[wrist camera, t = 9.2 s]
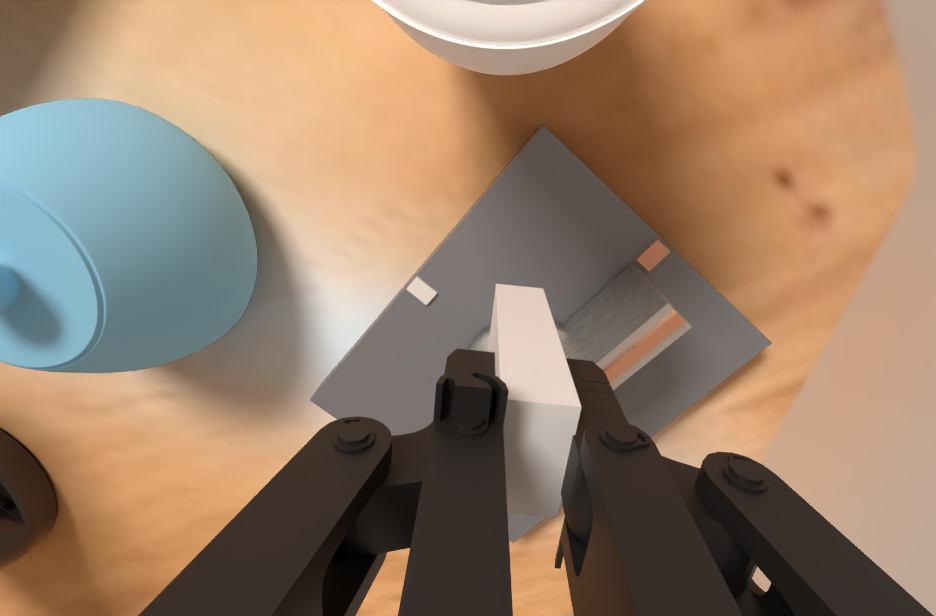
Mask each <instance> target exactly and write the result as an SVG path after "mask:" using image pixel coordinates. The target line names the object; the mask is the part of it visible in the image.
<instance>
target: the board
mask: <svg viewBox="0 0 936 616" xmlns="http://www.w3.org/2000/svg"><path fill="white" fill-rule="evenodd" d="M631 263H632V264H633V265H634V266H636V267H637V268H638V269H639V270H640V271H641V272H642V273H643V274H644V275H645V276H646V277H647V278H648V279H649V280H650V281H651V282H652V283H653V284H654V285H655V287H656V288H657V289H658V290H659V291H660V292H661V293H662V294H663V295H664V296H665V298H666V299H667V300H668V301H669V302H670V303H671V304H672V305H673V306H674V307H675V309H676V310H677V311H678V312H679V313H680V314H681V315H682V316H683V317H684V318H685V320H686V321H687V322H688V323H689V324H690V325H691V326H692V328H690V329H689V330H688V331H687V332H685V333H684V334H683V335H682V336H680V337H679V338H678V339H677V340H675V341H674V342H673V343H672V344H670V345H669V346H668V347H667V348H665V349H664V350H663V351H662V352H660V353H659V354H658V355H657V356H655V357H654V358H653V359H652V360H650V361H649V362H648V363H647V364H645V365H644V366H643V367H642V368H640V369H639V370H638V371H637V372H635V373H634V374H633V375H632V376H630V377H629V378H628V379H627V380H625V381H624V382H623V383H622V384H621V385H619V386H618V387H617V388H616V389H614V390H613V391H614V395H615V396H616V398H617V400H618V402H619V404H620V406H621V409H622V411H623V413H624V415H625V417H626V419H627V422H628V424H631V425H633V426H635V427H638V428H639V429H640V430H642V431H643V432H645V433H646V434H647V435H648V436H649V437H651V436H652V435H654V434H655V433H656V432H658V431H659V430H660V429H662V428H663V427H664V426H665V425H667V424H668V423H669V422H671V421H672V420H673V419H674V418H676V417H677V416H678V415H680V414H681V413H682V412H684V411H685V410H686V409H687V408H689V407H690V406H691V405H693V404H694V403H695V402H696V401H698V400H699V399H700V398H702V397H703V396H704V395H706V394H707V393H708V392H709V391H711V390H712V389H713V388H715V387H716V386H717V385H718V384H720V383H721V382H722V381H724V380H725V379H726V378H728V377H729V376H730V375H731V374H733V373H734V372H735V371H737V370H738V369H739V368H740V367H742V366H743V365H744V364H746V363H747V362H748V361H750V360H751V359H752V358H753V357H755V356H756V355H757V354H759V353H760V352H761V351H762V350H764V349H765V348H766V347H768V346H769V345H770V344H772V342H771V341H770V340H768V339H767V338H766V337H765V336H764V335H763V334H762V333H761V332H760V331H759V330H758V329H757V328H756V327H755V326H754V325H753V324H752V323H751V322H750V321H749V320H747V319H746V318H745V317H744V316H743V315H742V314H741V313H740V312H739V311H738V310H737V309H736V308H735V307H734V306H733V305H732V304H731V303H730V302H729V301H728V300H727V299H725V298H724V297H723V296H722V295H721V294H720V293H719V292H718V291H717V290H716V289H715V288H714V287H713V286H712V285H711V284H710V283H709V282H708V281H707V280H706V279H704V278H703V277H702V276H701V275H700V274H699V273H698V272H697V271H696V270H695V269H694V268H693V267H692V266H691V265H690V264H689V263H688V262H687V261H686V260H685V259H684V258H682V257H681V256H680V255H679V254H678V253H677V252H676V251H675V250H674V249H673V248H672V247H671V246H670V245H669V244H668V243H667V242H666V241H665V240H664V239H663V238H661V237H660V236H659V235H658V234H657V233H656V232H655V231H654V230H653V229H652V228H651V227H650V226H649V225H648V224H647V223H646V222H645V221H644V220H643V219H642V218H641V217H639V216H638V215H637V214H636V213H635V212H634V211H633V210H632V209H631V208H630V207H629V206H628V205H627V204H626V203H625V202H624V201H623V200H622V199H621V198H620V197H618V196H617V195H616V194H615V193H614V192H613V191H612V190H611V189H610V188H609V187H608V186H607V185H606V184H605V183H604V182H603V181H602V180H601V179H600V178H599V177H598V176H596V175H595V174H594V173H593V172H592V171H591V170H590V169H589V168H588V167H587V166H586V165H585V164H584V163H583V162H582V161H581V160H580V159H579V158H578V157H577V156H575V155H574V154H573V153H572V152H571V151H570V150H569V149H568V148H567V147H566V146H565V145H564V144H563V143H562V142H561V141H560V140H559V139H558V138H557V137H556V136H555V135H553V134H552V133H551V132H550V131H549V130H548V129H547V128H546V127H545V126H543V125H541V126H540V127H539V128H538V130H537V131H536V132H535V133H534V134H533V135H532V137H531V138H530V139H529V140H528V141H527V142H526V144H525V145H524V146H523V147H522V148H521V150H520V151H519V152H518V153H517V154H516V155H515V157H514V158H513V159H512V160H511V161H510V162H509V164H508V165H507V166H506V167H505V168H504V170H503V171H502V172H501V173H500V174H499V175H498V177H497V178H496V179H495V180H494V181H493V182H492V184H491V185H490V186H489V187H488V188H487V189H486V191H485V192H484V193H483V194H482V195H481V197H480V198H479V199H478V200H477V201H476V202H475V204H474V205H473V206H472V207H471V208H470V209H469V211H468V212H467V213H466V214H465V215H464V217H463V218H462V219H461V220H460V221H459V222H458V224H457V225H456V226H455V227H454V228H453V229H452V231H451V232H450V233H449V234H448V235H447V237H446V238H445V239H444V240H443V241H442V242H441V244H440V245H439V246H438V247H437V248H436V249H435V251H434V252H433V253H432V254H431V255H430V256H429V258H428V259H427V260H426V261H425V262H424V264H423V265H422V266H421V267H420V268H419V269H418V271H417V272H416V273H415V274H414V275H413V276H412V278H411V279H410V280H409V281H408V282H407V284H406V285H405V286H404V287H403V288H402V289H401V291H400V292H399V293H398V294H397V295H396V296H395V298H394V299H393V300H392V301H391V302H390V303H389V305H388V306H387V307H386V308H385V309H384V311H383V312H382V313H381V314H380V315H379V316H378V318H377V319H376V320H375V321H374V322H373V323H372V325H371V326H370V327H369V328H368V329H367V331H366V332H365V333H364V334H363V335H362V336H361V338H360V339H359V340H358V341H357V342H356V343H355V345H354V346H353V347H352V348H351V349H350V351H349V352H348V353H347V354H346V355H345V356H344V358H343V359H342V360H341V361H340V362H339V363H338V365H337V366H336V367H335V368H334V369H333V370H332V372H331V373H330V374H329V375H328V376H327V378H326V379H325V380H324V381H323V382H322V383H321V385H320V386H319V388H318V389H317V391H316V392H315V393H314V395H313V396H312V398H311V399H310V401H312V402H313V403H315V404H316V405H318V406H319V407H320V408H322V409H323V410H325V411H326V412H327V413H329V414H330V415H332V416H333V417H335V418H336V419H337V420H339V419H341V418H346V417H356V416H360V417H367V418H373V419H375V420H377V421H380V422H382V423H383V424H384V425H385V426H386V427H387V428H388V429H389V430H390V432H391V436H395V435H403V434H408V433H413V432H416V431H419V430H421V429H424V428H425V427H427V426H428V425H430V424H431V423H432V422H433V419H434V406H435V393H436V383H437V381H438V380H439V378H440V376H442V375H444V372H445V366H446V361H447V357H448V356H449V355H450V354H451V353H452V352H453V351H455V350H456V349H467V348H468V346H469V345H470V343H471V342H472V340H473V339H474V338H475V337H476V336H477V335H478V334H479V333H480V332H481V331H482V330H483V329H485V328H486V327H488V326H489V325H491V320H492V312H493V304H494V296H495V287H496V284H504V285H514V286H524V287H534V288H543V290H544V293H545V296H546V299H547V302H548V305H549V308H550V311H551V314H552V317H553V320H555V321H558V322H560V323H562V324H563V325H564V324H565V323H566V322H567V321H568V320H569V319H571V318H572V317H573V316H574V315H575V314H576V313H577V312H578V311H579V310H581V309H582V308H583V307H584V306H585V305H586V304H587V303H588V302H589V301H590V300H592V299H593V298H594V297H595V296H596V295H597V294H598V293H599V292H600V291H602V290H603V289H604V288H605V287H606V286H607V285H608V284H609V283H610V282H612V281H613V280H614V279H615V278H616V277H617V276H618V275H619V274H620V273H622V272H623V271H624V270H625V269H626V268H627V267H628V266H629V265H630V264H631ZM562 505H563V502H562V499H561V503H560V507H561V506H562ZM507 514H508V533H509V540H510V541H511V542H513V543H514V542H515V541H517V540H518V539H519V538H520V537H522V536H523V535H524V534H526V533H527V532H528V531H530V530H531V529H532V528H533V527H535V526H536V525H537V524H539V523H540V522H541V521H542V520H544V519H545V518H546V517H541V516H532V515H522V514H513V513H507Z"/></svg>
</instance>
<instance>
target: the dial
mask: <svg viewBox="0 0 936 616" xmlns="http://www.w3.org/2000/svg"><path fill="white" fill-rule="evenodd" d="M554 323H555V327H556V330H557V333H558V336H559V339H560V342H561V345H562V348H563V351H564V354H565V357H566V358H569V359H578V360H588V361H593V362H594V363H595V364H596V365H597V366H598V367H600V368H601V369H602V370H603V371H604V372H605V374H606V376H607V378H608V380H609V383H610V386H611V387H612V389H613V390H614V389H616V388H617V387H618V386H619V385H621V384H622V383H623V382H624V381H625V380H627V379H628V378H629V377H630V376H632V375H633V374H634V373H635V372H637V371H638V370H639V369H640V368H642V367H643V366H644V365H645V364H647V363H648V362H649V361H650V360H652V359H653V358H654V357H655V356H657V355H658V354H659V353H660V352H662V351H663V350H664V349H665V348H667V347H668V346H669V345H670V344H672V343H673V342H674V341H675V340H677V339H678V338H679V337H680V336H682V335H683V334H684V333H685V332H687V331H688V330H689V329H690V328H692V326H691V325H690V324H689V323H688V322H687V321H686V320H685V318H684V317H683V316H682V315H681V314H680V313H679V312H678V311H677V310H676V309H675V307H674V306H673V305H672V304H671V303H670V302H669V301H668V300H667V299H666V298H665V296H664V295H663V294H662V293H661V292H660V291H659V290H658V289H657V288H656V287H655V285H654V284H653V283H652V282H651V281H650V280H649V279H648V278H647V277H646V276H645V275H644V274H643V273H642V272H641V271H640V270H639V269H638V268H637V267H636V266H634V265H633V264H632V263H631V264H630V265H629V266H628V267H627V268H626V269H625V270H624V271H623V272H622V273H620V274H619V275H618V276H617V277H616V278H615V279H614V280H613V281H612V282H610V283H609V284H608V285H607V286H606V287H605V288H604V289H603V290H602V291H600V292H599V293H598V294H597V295H596V296H595V297H594V298H593V299H592V300H590V301H589V302H588V303H587V304H586V305H585V306H584V307H583V308H582V309H581V310H579V311H578V312H577V313H576V314H575V315H574V316H573V317H572V318H571V319H569V320H568V321H567V322H566V323H565V324H564V325H563V324H562V323H560V322H558V321H555V320H554ZM490 328H491V325H489V326H488V327H486V328H485V329H483V330H482V331H481V332H480V333H479V334H478V335H477V336H476V337H475V338H474V339H473V340H472V342H471V343H470V345H469V346H468V348H467V350H476V351H486V352H488V345H489V337H490Z"/></svg>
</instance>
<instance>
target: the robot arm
mask: <svg viewBox="0 0 936 616" xmlns="http://www.w3.org/2000/svg"><path fill="white" fill-rule="evenodd" d="M561 499H562V502H563V507H564V513H565V518H564V523H563V527H562V532H561V536H560V540H559V545H558V549H557V554H556V559H555V568H561V564H562V559H563V557H564V560H565V565H566V571H567V577H568V583H569V589H570V595H571V601H572V607H573V613H574V616H933V615H932V614H931V613H930V612H929V611H927V610H926V609H925V608H924V607H923V606H922V605H921V604H920V603H919V602H918V601H916V600H915V599H914V598H913V597H912V596H911V595H910V594H909V593H907V592H906V591H905V590H904V589H903V588H902V587H901V586H900V585H899V584H897V583H896V582H895V581H894V580H893V579H892V578H891V577H890V576H889V575H887V574H886V573H885V572H884V571H883V570H882V569H881V568H880V567H879V566H877V565H876V564H875V563H874V562H873V561H872V560H871V559H870V558H868V557H867V556H866V555H865V554H864V553H863V552H862V551H861V550H860V549H858V548H857V547H856V546H855V545H854V544H853V543H851V541H849V540H848V539H847V538H846V537H845V536H844V535H843V534H842V533H841V532H839V531H838V530H837V529H836V528H835V527H834V526H833V525H831V524H830V523H829V522H828V521H827V520H826V519H825V518H824V517H823V516H822V515H821V514H819V513H818V512H817V511H816V510H815V509H814V508H813V507H812V506H810V505H809V504H808V503H807V502H806V501H805V500H804V499H803V498H802V497H800V496H799V495H798V494H797V493H796V492H795V491H794V490H792V488H790V487H789V486H788V485H787V484H786V483H785V482H784V481H783V480H781V479H780V478H779V477H778V476H777V475H776V474H774V473H773V472H772V471H770V470H769V469H768V468H766V467H764V466H763V465H762V464H760V463H758V462H756V461H754V460H752V459H750V458H748V457H745V456H742V455H739V454H734V453H727V452H716V453H712V454H708V455H707V456H706V458H705V459H704V460H703V462H702V465H701V468H696V467H693V466H690V465H687V464H683V463H680V462H677V461H674V460H671V459H668V458H666V457H663V456H661V455H660V453H659V451H658V449H657V447H656V445H655V443H654V442H653V441H652V439H651V438H650V437H649V436H648V435H647V434H646V433H645V432H643V431H642V430H640V429H639V428H638V427H635V426H633V425H631V424H628V422H627V419H626V417H625V415H624V413H623V411H622V409H621V406H620V404H619V402H618V400H617V398H616V396H615V395H614V391H613V389H612V387H611V386H610V383H609V380H608V378H607V376H606V374H605V372H604V371H603V370H602V369H601V368H600V367H598V366H597V365H596V364H595V363H594V362H593V361H588V360H578V359H569V358H566V357H565V354H564V351H563V348H562V345H561V342H560V339H559V336H558V333H557V330H556V327H555V323H554V320H553V317H552V314H551V311H550V308H549V305H548V302H547V299H546V296H545V293H544V290H543V288H534V287H524V286H514V285H504V284H496V287H495V296H494V304H493V312H492V320H491V328H490V337H489V345H488V352H486V351H476V350H467V349H456V350H455V351H453V352H452V353H451V354H450V355H449V356H448V357H447V361H446V366H445V372H444V375H442V376H440V378H439V380H438V381H437V383H436V393H435V406H434V419H433V422H432V423H431V424H430V425H428V426H427V427H425V428H424V429H421V430H419V431H416V432H413V433H408V434H403V435H395V436H391V432H390V430H389V429H388V428H387V427H386V426H385V425H384V424H383V423H382V422H380V421H377V420H375V419H373V418H367V417H360V416H356V417H346V418H341V419H339V420H336V421H333V422H330V423H329V424H327V425H326V426H325V427H323V428H322V429H320V430H319V431H318V432H317V433H316V434H315V435H314V436H313V438H312V439H311V440H310V441H309V442H308V443H307V444H306V445H305V446H304V447H303V448H302V449H301V450H300V451H299V452H298V453H297V454H296V455H295V456H294V457H293V458H292V459H291V460H290V461H289V462H288V463H287V464H286V465H285V466H284V467H283V468H282V469H281V470H280V471H279V472H278V473H277V474H276V475H275V476H274V477H273V478H272V479H271V480H270V481H269V483H268V484H267V485H266V486H265V487H264V488H263V489H262V490H261V491H260V492H259V493H258V494H257V495H256V496H255V497H254V498H253V499H252V500H251V501H250V502H249V503H248V504H247V505H246V506H245V507H244V508H243V509H242V510H241V511H240V512H239V513H238V514H237V515H236V516H235V517H234V518H233V519H232V520H231V521H230V522H229V523H228V524H227V525H226V526H225V528H224V529H223V530H222V531H221V532H220V533H219V534H218V535H217V536H216V537H215V538H214V539H213V540H212V541H211V542H210V543H209V544H208V545H207V546H206V547H205V548H204V549H203V550H202V551H201V552H200V553H199V554H198V555H197V556H196V557H195V558H194V559H193V560H192V561H191V562H190V563H189V564H188V565H187V566H186V567H185V568H184V569H183V570H182V571H181V573H180V574H179V575H178V576H177V577H176V578H175V579H174V580H173V581H172V582H171V583H170V584H169V585H168V586H167V587H166V588H165V589H164V590H163V591H162V592H161V593H160V594H159V595H158V596H157V597H156V598H155V599H154V600H153V601H152V602H151V603H150V604H149V605H148V606H147V607H146V608H145V609H144V610H143V611H142V612H141V613H140V614H139V615H138V616H355V615H356V613H357V611H358V610H359V608H360V606H361V604H362V602H363V600H364V598H365V596H366V594H367V593H368V591H369V589H370V587H371V585H372V583H373V581H374V579H375V577H376V575H377V574H378V572H379V570H380V568H381V566H382V564H383V562H384V560H385V557H386V554H387V552H390V551H395V550H400V549H405V548H410V553H409V558H408V564H407V569H406V575H405V580H404V586H403V591H402V597H401V602H400V608H399V613H398V616H513V612H512V593H511V573H510V553H509V533H508V514H507V513H513V514H522V515H532V516H541V517H551V518H557V517H558V512H559V508H560V503H561ZM55 518H56V500H55V495H54V492H53V489H52V487H51V484H50V482H49V480H48V478H47V476H46V475H45V473H44V472H43V470H42V469H41V467H40V466H39V465H38V463H37V462H36V461H35V460H34V458H33V457H32V456H31V455H30V454H29V453H28V452H27V451H26V450H25V449H24V448H23V447H22V446H21V445H20V444H19V443H17V442H16V441H15V440H14V439H13V438H11V437H10V436H9V435H7V434H6V433H5V432H3V431H2V430H0V570H1V569H3V568H4V567H6V566H8V565H10V564H12V563H13V562H15V561H16V560H18V559H19V558H21V557H22V556H23V555H25V554H26V553H27V552H28V551H29V550H30V549H31V548H32V547H33V546H35V545H36V544H37V543H38V542H39V541H40V540H41V539H42V538H43V537H44V536H46V534H47V533H48V532H49V531H50V530H51V528H52V526H53V524H54V521H55ZM757 566H758V567H759V568H760V570H761V571H762V572H763V573H764V574H765V575H766V577H767V578H768V579H769V580H770V581H771V585H770V587H769V590H768V591H767V592H764V591H763V590H762V589H761V588H759V586H758V585H756V583H755V582H754V581H753V580H752V576H753V574H754V572H755V570H756V568H757Z"/></svg>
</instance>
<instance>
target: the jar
mask: <svg viewBox="0 0 936 616" xmlns="http://www.w3.org/2000/svg"><path fill="white" fill-rule="evenodd" d="M372 1H373V2H374V3H375V4H377V5H378V6H379V7H380V8H382V9H383V10H384V11H386V12H387V14H388V15H389V16H390V17H391V18H392V19H393V21H394V22H395V23H396V24H397V25H398V26H399V27H400V28H401V29H402V30H403V31H404V32H405V33H406V34H408V35H409V36H410V37H411V38H412V39H413V40H415V41H416V42H417V43H418V44H420V45H421V46H422V47H424V48H425V49H427V50H428V51H429V52H431V53H433V54H434V55H436V56H438V57H439V58H441V59H443V60H445V61H447V62H449V63H452V64H454V65H456V66H459V67H462V68H465V69H468V70H471V71H475V72H480V73H485V74H492V75H520V74H528V73H533V72H538V71H542V70H545V69H548V68H551V67H554V66H557V65H559V64H562V63H564V62H566V61H569V60H571V59H573V58H575V57H576V56H578V55H580V54H582V53H583V52H585V51H587V50H588V49H590V48H591V47H593V46H594V45H596V44H597V43H598V42H600V41H601V40H602V39H604V38H605V37H606V36H608V35H609V34H610V33H611V32H612V31H613V30H615V29H616V28H617V27H618V26H619V25H620V24H621V23H622V22H623V21H624V20H625V19H626V18H627V17H628V16H629V15H630V14H631V13H632V12H633V11H634V10H636V9H637V8H638V7H640V6H641V5H643V4H644V3H645V2H647V1H648V0H372Z"/></svg>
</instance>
